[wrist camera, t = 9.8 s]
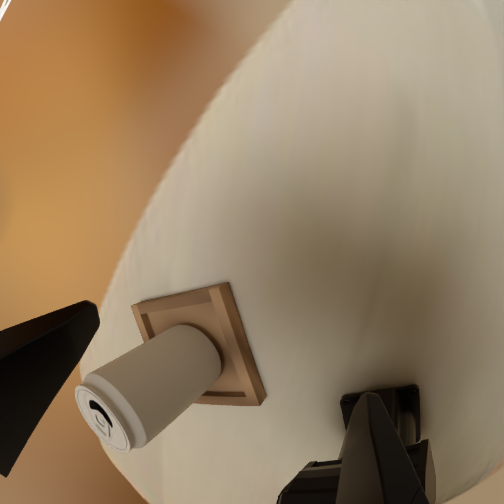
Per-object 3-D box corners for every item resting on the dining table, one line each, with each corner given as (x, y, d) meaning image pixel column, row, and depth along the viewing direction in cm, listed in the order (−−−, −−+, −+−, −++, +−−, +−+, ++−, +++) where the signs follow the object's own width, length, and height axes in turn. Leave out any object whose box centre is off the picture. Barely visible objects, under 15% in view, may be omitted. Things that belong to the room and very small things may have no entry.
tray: (266, 396, 25) (259, 405, 23) (177, 394, 30) (169, 400, 28) (228, 282, 24) (218, 287, 23) (140, 301, 29) (130, 305, 28)
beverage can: (232, 341, 24) (131, 423, 14) (218, 393, 26) (134, 471, 15) (173, 309, 26) (65, 363, 16) (165, 361, 28) (76, 419, 18)
